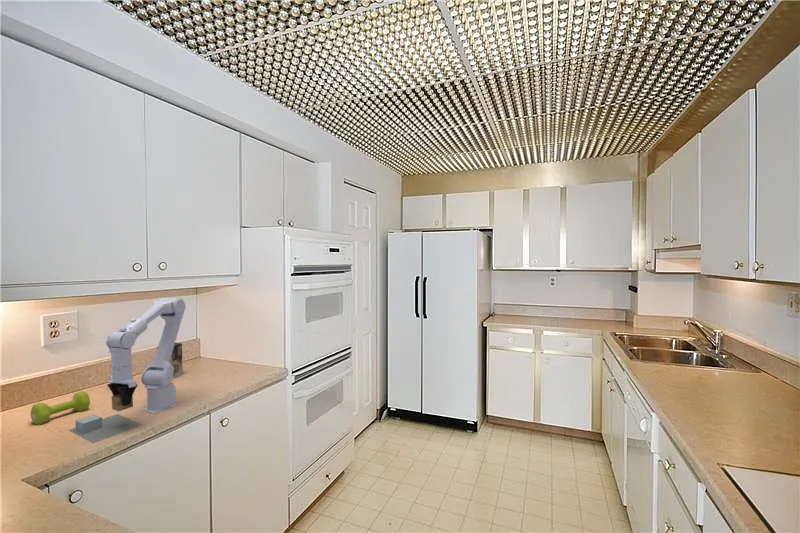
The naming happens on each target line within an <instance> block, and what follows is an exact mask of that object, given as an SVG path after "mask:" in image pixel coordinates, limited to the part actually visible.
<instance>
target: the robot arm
mask: <svg viewBox="0 0 800 533" xmlns="http://www.w3.org/2000/svg"><path fill="white" fill-rule="evenodd" d="M186 307H187V306H186V303H185V301H184V299H183V298H181V297H158V298H156V299H155V300H154V301H153V302H152V306H151V307H149V309H147V310H146V311H145V312H144V313H143V314H142V315H141V316H140V317H134V318H131V319H130V320H129V322H128V323H126V325H124V326H122V327H121V328H120V329H119V330H118V331H114V332H112V333H110V334H109V335H108V337H107V340H106V341H105V344H106V346H107V348H108V349H109V353H110V355H111V356H110V358H111V362H110V363H111V374H109V375H108V381H107V383H108V384H107V387H108V389H109V390H110V391H111V393H112V396H114V395H117V394H120V395H121V400H122V404H123V406H126V405H129V404H130V403H131V400H132V396H134V393H135V390H136V389H137V387H138V383H137V380H135V379H134V376H133V364H132V347H134V345H135V343H136V340H137V339H138V337H139V336H140V335H141V334H143V333H144V332H145V331H146V330H147V329H148V325H149V324H150V323H151V322H153V321H154V320H155V319H157V318H158V317H160V318H161V319H163V320H164V322H165V323H164V327H163V330H162V334H161V337H160V339H159V340H160V341H159V343H158V346H157V347H158V349H157V348H156V352H155V356H154V360H153V361H151V362H149V363H148V364H147V365H146V367H145V370H143V371H142V374H141V376H140V380H141V384H142V385H144V388H146V407H142V410H144V411H146V412H148V413H151V414H155V413H158V412H162V411H164V410H166V409H170V408H172V407H175V406H178V403H177V388H176V385H175V384H174V383H173V380H174V378H173V370H174V367H173V366H172V365H171V364H170V363H169V361H170V358H171V354H172V351H173V348H174V344H175V343H176V340H177V337H178V333H179V331H180V327H181V323H182V320H183V317H184V314H185V310H186ZM160 369H164V370H160Z"/></svg>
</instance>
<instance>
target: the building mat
mask: <svg viewBox="0 0 800 533" xmlns="http://www.w3.org/2000/svg"><path fill="white" fill-rule="evenodd" d="M141 426H144V424H142V423H140V422H137V421H136V420H133V419H131V418H129V417H126V416H124V415H122V414H118V413H116V414H114V415H110V416H107V417H105V418H102V428H99V429H96V430H93V431H90V432H87V433H84V434H82V433H80V432H79V431H77V430H76V427H74V428H71V429H68V431H69V432H71V433H73V434H74V435H77V436H79V437H81V438H82V439H85V441H88V442H89V443H92V444H95V443H98V442H102V441H103V440H105V439H109V438H112V437H113V436H114V437H115V436H116V435H117V436H118V435H119V434H122V433H125V432H127V431H130V430H133V429H135V428H138V427H141Z"/></svg>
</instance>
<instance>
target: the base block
mask: <svg viewBox="0 0 800 533" xmlns="http://www.w3.org/2000/svg"><path fill="white" fill-rule="evenodd" d="M102 419H103V417H102V416H99V415H97V414H90V415H88V416H83V417H82V418H78V419H75V428H76V430H77V431H79V432H80V433H82V434H84V433H87V432H90V431H93V430H96V429H99V428H102Z"/></svg>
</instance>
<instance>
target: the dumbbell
mask: <svg viewBox="0 0 800 533" xmlns="http://www.w3.org/2000/svg"><path fill="white" fill-rule="evenodd" d="M90 405H91V399H90V396H89V393H88V392H86V391H83V390H82V391H80V390H79V391H78V392H75V393H74V394H73V397H72V399H71V400H69V401H65V402H61V403H57V404H55V405H52V406H49V405H48V404H47V403H44V402H38V403H34V404H33V405H32V407H31V409H30V418H31V421H32V423H33V424H34V425H43V424H45V423H48V422H49V420H50V417H51V416H52V415H54V414H58V413H61V412H64V411H68V410H71V409H74V411H77V412H80V413H81V412H84V411H87V410H88V409H89V408H90Z"/></svg>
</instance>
